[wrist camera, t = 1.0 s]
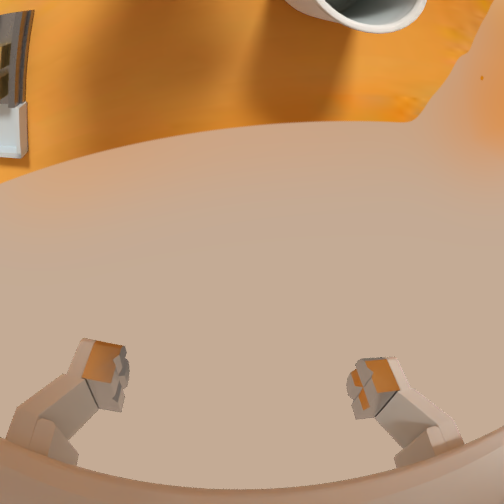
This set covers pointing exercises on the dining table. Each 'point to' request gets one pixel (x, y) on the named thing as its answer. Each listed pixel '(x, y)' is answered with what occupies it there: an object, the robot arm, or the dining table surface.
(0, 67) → the tan yellow cube
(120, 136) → the dining table surface
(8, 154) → the tray
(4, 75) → the yellow cube
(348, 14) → the utensil holder
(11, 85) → the slot bed
